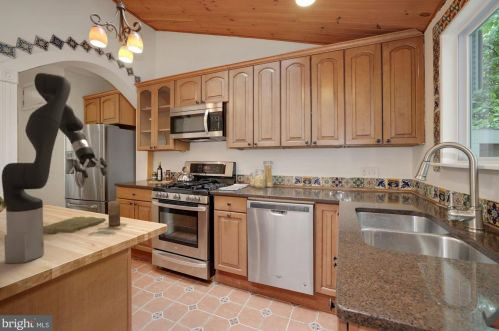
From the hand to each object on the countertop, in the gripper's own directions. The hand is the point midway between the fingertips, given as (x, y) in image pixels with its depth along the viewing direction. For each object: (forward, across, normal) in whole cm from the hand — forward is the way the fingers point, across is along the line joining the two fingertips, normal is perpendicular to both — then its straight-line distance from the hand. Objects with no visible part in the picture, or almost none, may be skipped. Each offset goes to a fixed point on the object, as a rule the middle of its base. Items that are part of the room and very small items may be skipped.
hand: (96, 176), depth 118 cm
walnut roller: (+26, 0, +5) cm, 27 cm away
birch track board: (+29, -4, +3) cm, 29 cm away
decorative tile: (+18, -10, +18) cm, 27 cm away
